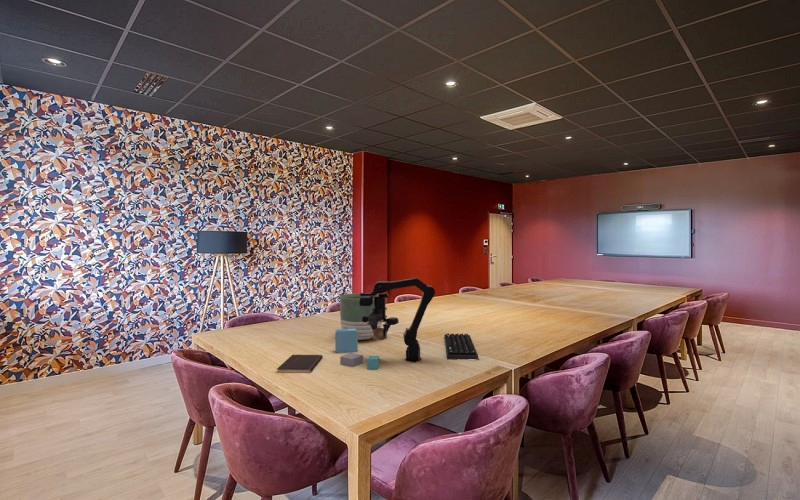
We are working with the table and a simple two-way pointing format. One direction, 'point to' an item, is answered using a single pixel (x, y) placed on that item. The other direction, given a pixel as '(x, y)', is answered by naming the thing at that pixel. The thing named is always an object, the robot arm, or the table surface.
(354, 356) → the slate base block
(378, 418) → the table surface
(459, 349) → the computer keyboard
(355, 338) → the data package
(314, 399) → the table surface
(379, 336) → the walnut cube
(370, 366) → the teal cube
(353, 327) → the planter
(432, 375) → the table surface
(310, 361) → the hardcover book
